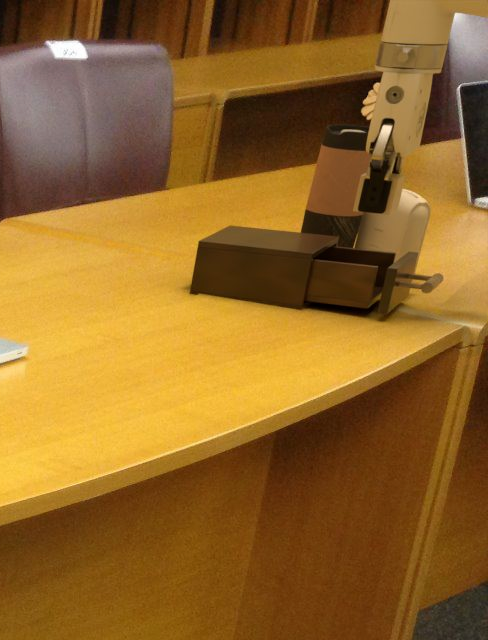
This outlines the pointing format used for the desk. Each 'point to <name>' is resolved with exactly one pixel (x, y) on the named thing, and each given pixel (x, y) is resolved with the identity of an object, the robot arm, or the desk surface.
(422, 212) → the photo printer
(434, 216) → the desk surface
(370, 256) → the drawer
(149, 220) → the desk surface
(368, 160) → the travel mug
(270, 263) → the cabinet
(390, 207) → the block
